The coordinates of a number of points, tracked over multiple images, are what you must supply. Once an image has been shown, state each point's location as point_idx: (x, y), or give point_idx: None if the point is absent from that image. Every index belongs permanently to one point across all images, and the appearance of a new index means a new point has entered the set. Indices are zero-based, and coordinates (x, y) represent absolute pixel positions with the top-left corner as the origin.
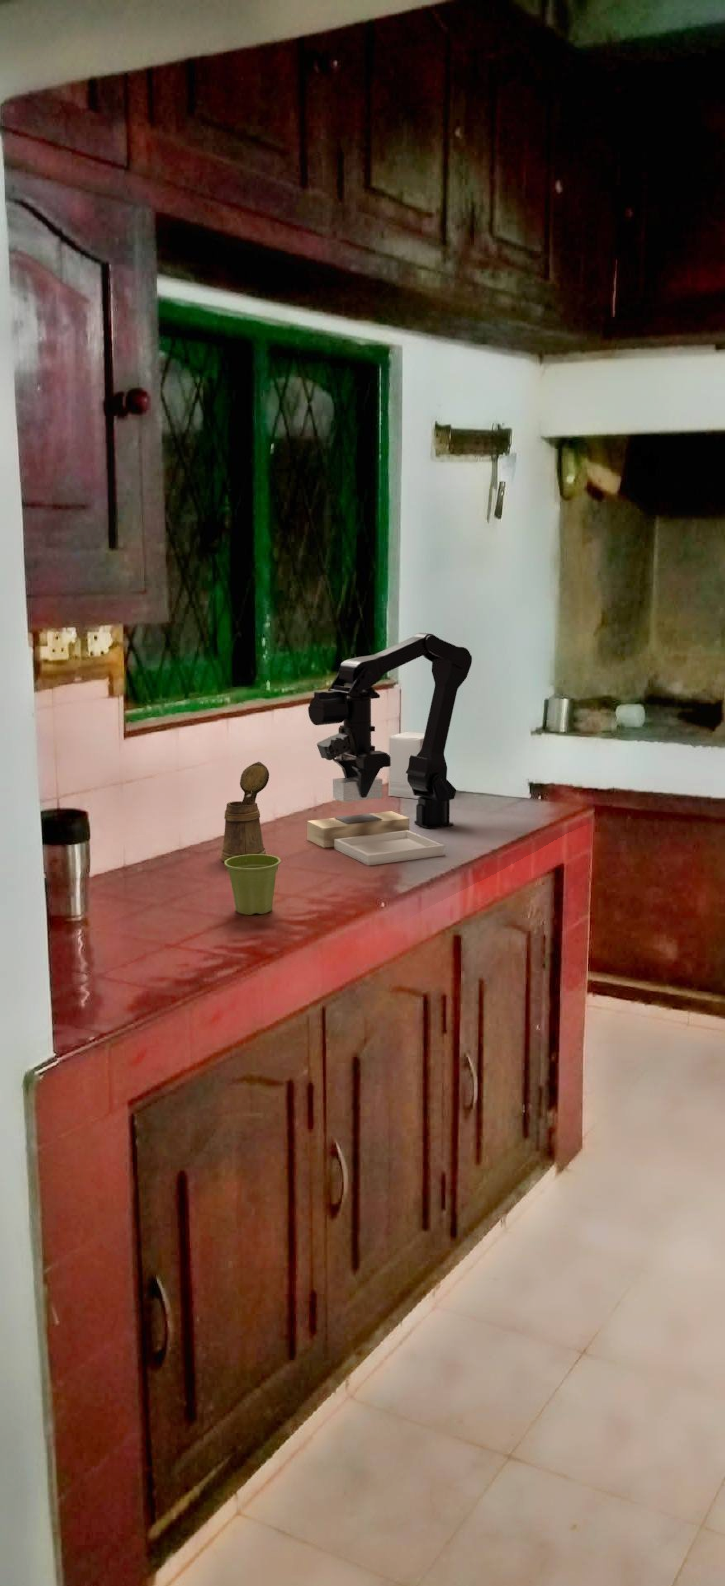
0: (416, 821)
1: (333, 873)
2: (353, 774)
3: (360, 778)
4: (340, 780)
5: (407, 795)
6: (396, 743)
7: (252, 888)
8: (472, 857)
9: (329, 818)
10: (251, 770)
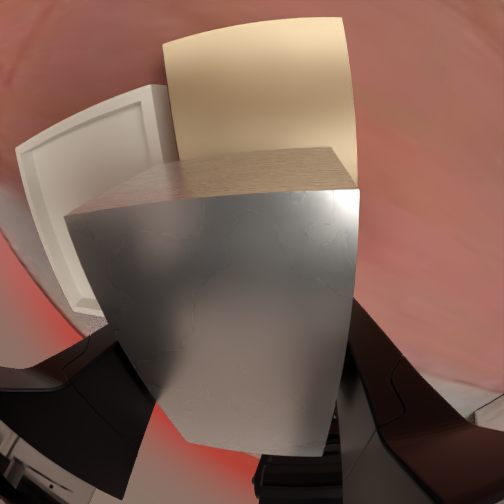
0: None
1: (13, 72)
2: (349, 420)
3: (62, 355)
4: (197, 241)
5: (493, 404)
6: None
7: None
8: (76, 323)
9: (351, 127)
10: None
